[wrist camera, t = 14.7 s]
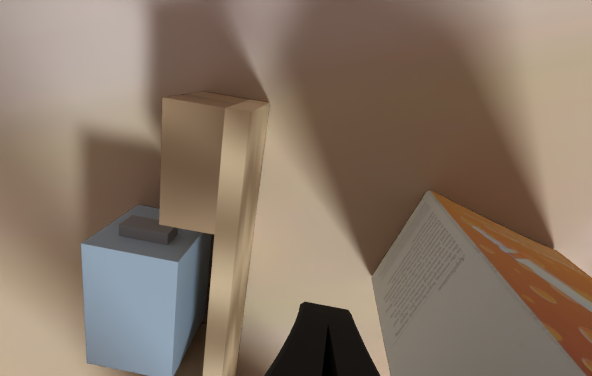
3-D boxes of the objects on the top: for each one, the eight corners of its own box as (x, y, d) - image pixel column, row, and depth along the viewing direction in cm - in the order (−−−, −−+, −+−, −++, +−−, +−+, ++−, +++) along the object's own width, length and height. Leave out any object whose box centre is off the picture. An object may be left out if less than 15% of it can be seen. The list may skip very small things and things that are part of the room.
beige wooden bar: (230, 414, 25) (210, 484, 20) (183, 404, 25) (153, 472, 21) (269, 102, 18) (250, 112, 13) (202, 91, 18) (162, 97, 13)
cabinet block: (204, 315, 22) (171, 380, 18) (137, 302, 22) (86, 362, 18) (214, 208, 20) (178, 250, 15) (139, 194, 20) (80, 231, 15)
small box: (558, 248, 19) (1007, 594, 6) (487, 332, 21) (720, 717, 8) (426, 184, 18) (628, 418, 6) (367, 276, 20) (423, 593, 8)
